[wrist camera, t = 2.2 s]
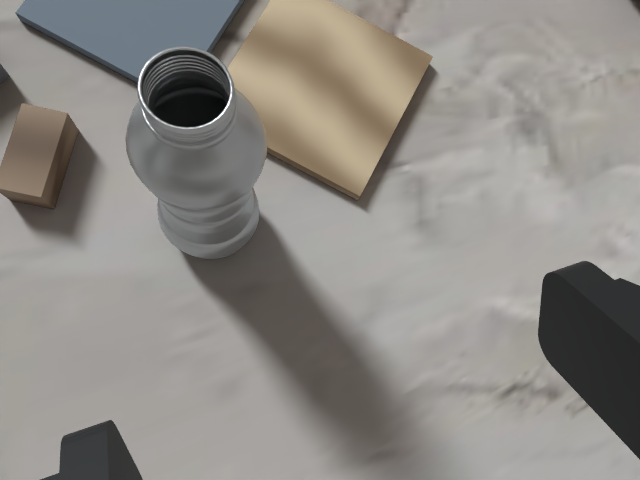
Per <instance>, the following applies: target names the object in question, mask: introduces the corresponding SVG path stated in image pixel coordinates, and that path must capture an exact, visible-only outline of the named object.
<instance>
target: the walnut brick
mask: <svg viewBox="0 0 640 480" xmlns="http://www.w3.org/2000/svg"><path fill="white" fill-rule="evenodd" d="M78 131H79V130H78V128H77V127H76V125H75V124H74V122H73V121H72V119H71V118H70V116H69V115H68V113H65V112H60V111H56V110H51V109H46V108H42V107H37V106H33V105H28V104H24V103H22V104H21V107H20V110H19V113H18V116H17V119H16V122H15V125H14V128H13V131H12V134H11V137H10V140H9V143H8V146H7V148H6V151H5V154H4V157H3V160H2V163H1V166H0V193H1V194H3V195H4V196H5V197H7V198H8V199H9V200H12V201H17V202H21V203H26V204H31V205H36V206H41V207H46V208H50V209H55V205H56V202H57V199H58V196H59V192H60V189H61V186H62V183H63V179H64V176H65V173H66V170H67V166H68V163H69V160H70V157H71V153H72V150H73V147H74V144H75V141H76V137H77V134H78Z"/></svg>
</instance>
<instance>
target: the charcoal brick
mask: <svg viewBox="0 0 640 480" xmlns="http://www.w3.org/2000/svg"><path fill="white" fill-rule="evenodd" d="M9 77H10V76H9V74H8V73H7V72H6V71H5V69H4V68H3V67H2V65H1V64H0V84H1V83H2V82H3V81H5V80H6V79H7V78H9Z"/></svg>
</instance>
